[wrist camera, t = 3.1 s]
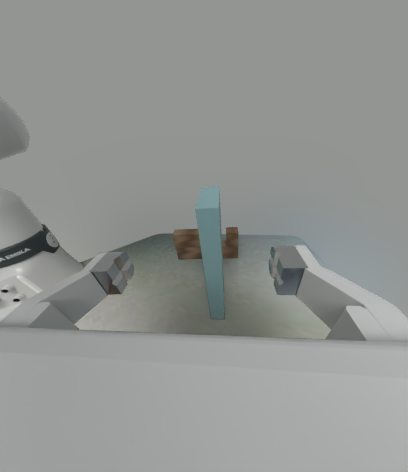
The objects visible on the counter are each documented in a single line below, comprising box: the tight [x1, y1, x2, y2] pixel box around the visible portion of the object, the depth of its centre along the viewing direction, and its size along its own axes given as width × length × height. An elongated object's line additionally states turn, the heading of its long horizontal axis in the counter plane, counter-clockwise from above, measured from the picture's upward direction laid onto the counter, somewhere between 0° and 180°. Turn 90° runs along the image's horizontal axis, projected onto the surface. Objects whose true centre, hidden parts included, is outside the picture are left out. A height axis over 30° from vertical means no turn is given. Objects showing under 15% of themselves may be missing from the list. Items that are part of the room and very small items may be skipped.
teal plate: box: [195, 187, 225, 319], centre depth 26 cm, size 2×7×22 cm, turn 175°
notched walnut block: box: [173, 227, 238, 259], centre depth 41 cm, size 16×2×8 cm, turn 85°
